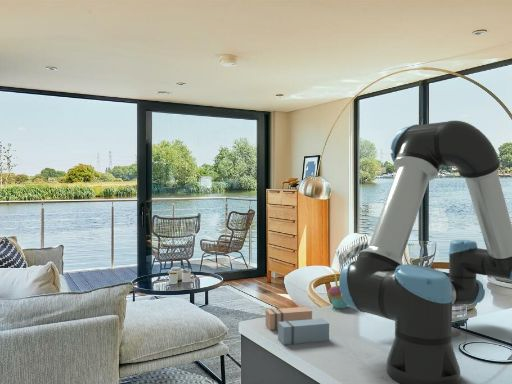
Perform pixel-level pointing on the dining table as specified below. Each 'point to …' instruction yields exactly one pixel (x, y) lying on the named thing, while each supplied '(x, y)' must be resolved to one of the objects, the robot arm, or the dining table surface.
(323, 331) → the post
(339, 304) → the cupcake
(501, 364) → the dining table surface
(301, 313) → the post
